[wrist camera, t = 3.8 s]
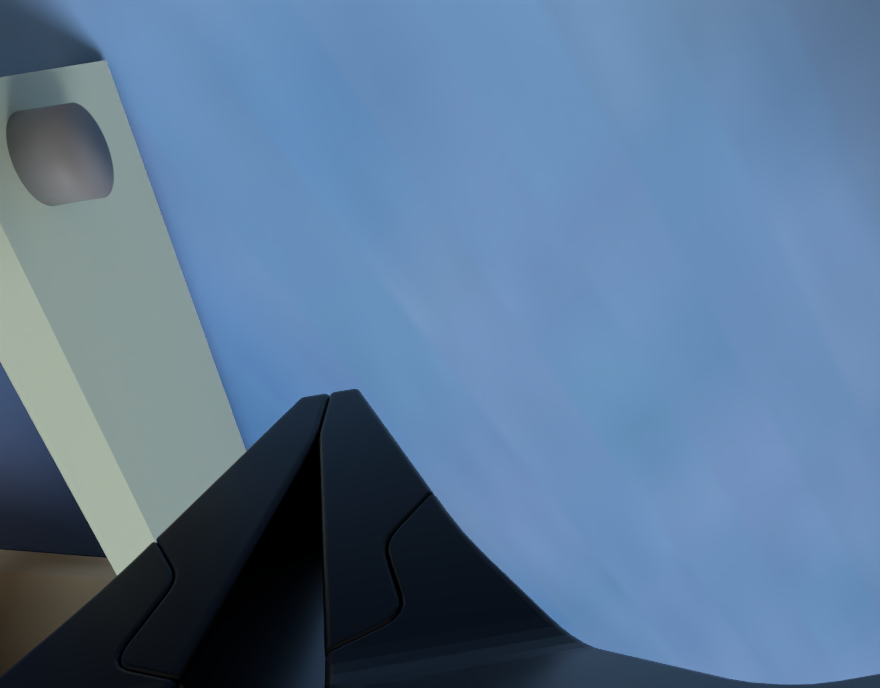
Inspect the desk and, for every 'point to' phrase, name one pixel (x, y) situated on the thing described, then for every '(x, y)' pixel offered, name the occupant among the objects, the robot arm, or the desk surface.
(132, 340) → the door
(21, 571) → the cabinet
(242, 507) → the robot arm
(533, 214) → the desk surface
